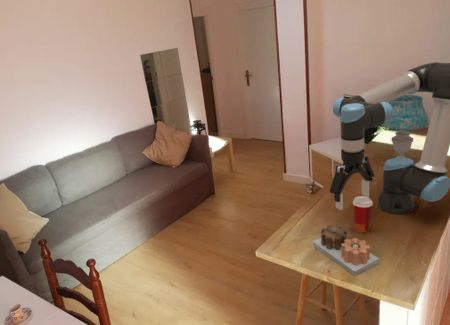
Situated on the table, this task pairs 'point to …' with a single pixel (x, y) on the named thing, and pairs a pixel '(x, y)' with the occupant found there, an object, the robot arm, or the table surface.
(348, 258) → the gear
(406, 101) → the table lamp
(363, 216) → the paper cup
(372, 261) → the gear board
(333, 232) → the gear
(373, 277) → the table surface
